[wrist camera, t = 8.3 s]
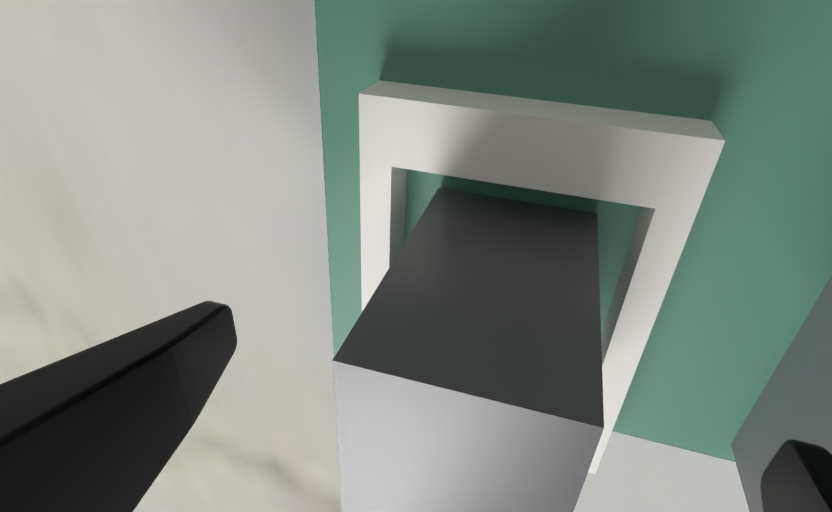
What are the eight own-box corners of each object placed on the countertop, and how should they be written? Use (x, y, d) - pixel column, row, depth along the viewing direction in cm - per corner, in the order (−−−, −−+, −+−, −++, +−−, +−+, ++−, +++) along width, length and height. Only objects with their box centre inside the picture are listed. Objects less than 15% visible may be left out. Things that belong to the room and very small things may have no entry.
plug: (597, 213, 9) (604, 428, 5) (546, 402, 12) (524, 640, 8) (438, 188, 10) (332, 360, 6) (424, 372, 13) (345, 578, 8)
